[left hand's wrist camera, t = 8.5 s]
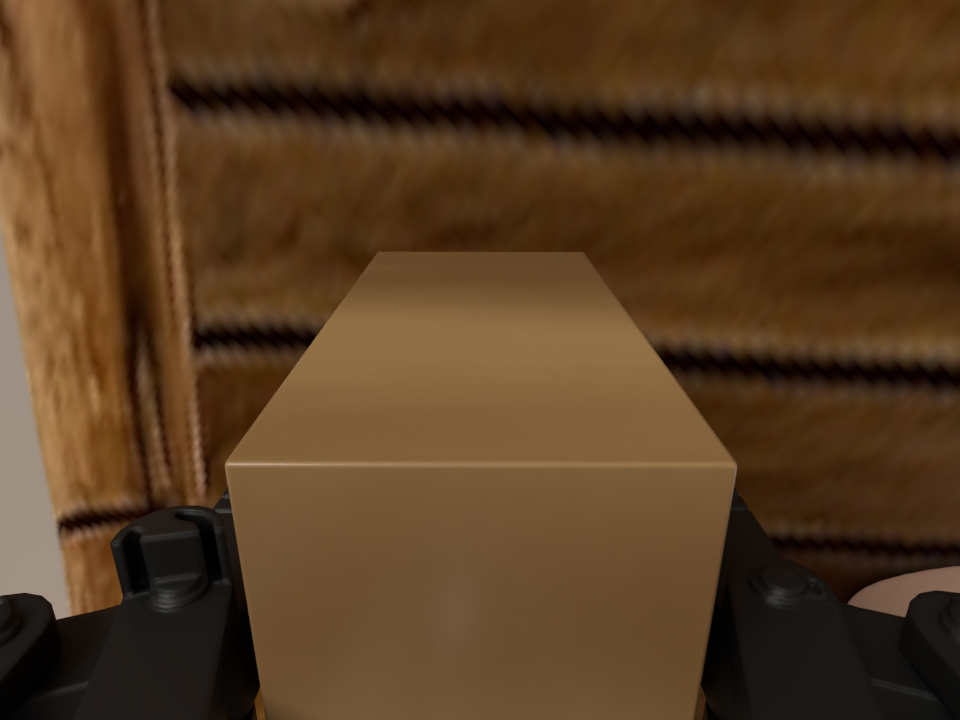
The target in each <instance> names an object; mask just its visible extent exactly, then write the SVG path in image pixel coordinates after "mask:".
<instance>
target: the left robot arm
mask: <svg viewBox="0 0 960 720" xmlns="http://www.w3.org/2000/svg"><path fill="white" fill-rule="evenodd" d="M110 545H111V549H112V553H113V557H114V561H115V565H116V569H117V573H118V577H119V581H120V585H121V589H122V593H123V599H122V602H121V604H120V605H117V606H114V607H110V608H107V609H103V610H99V611H94V612H90V613H85V614H81V615H76V616H71V617H67V618H62V619H58V620H56V618H55V614H54V611H53V608H52V605H51V603H50V602H48V601H47V600H46V599H45V598H44V597H43V596H40V595H34V594H28V593H20V594H12V595H3V596H0V720H257V715H256V709H255V703H254V701H255V698H256V696H257V693H258V690H259V688H260V680H259V674H258V668H257V662H256V656H255V650H254V643H253V637H252V631H251V625H250V619H249V613H248V607H247V600H246V594H245V588H244V582H243V576H242V570H241V563H240V557H239V551H238V545H237V539H236V533H235V526H234V520H233V514H232V508H231V502H230V496H229V490H228V488H227V489H226V491H225V492H224V494H223V498H222V499H220V500H219V501H218V503H217V504H216V506H215V507H214V509H209V508H206V507H202V506H176V507H172V508H167V509H162V510H158V511H155V512H153V513H150V514H148V515H145V516H143V517H141V518H138V519H136V520H135V521H133V522H132V523H130V524H129V525H127V526H126V527H124V528H123V529H121V530H120V531H119V533H118V534H117V535H116V536H115V537H114V539H113V540H112V541H111V542H110ZM701 686H702V688H703V691H704V694H705V696H706V703H705V709H704V715H703V720H960V593H956V592H947V591H939V590H935V591H929V592H923V593H919V594H918V595H917V596H916V597H914V598H913V599H912V600H911V601H910V603H909V606H908V610H907V613H906V616H905V617H901V616H897V615H892V614H888V613H883V612H879V611H874V610H869V609H865V608H860V607H856V606H853V605H849V604H846V603H842V602H839V601H838V598H837V596H836V595H835V593H834V592H833V590H832V589H831V587H830V586H829V584H828V583H827V582H826V581H825V580H823V579H822V578H821V577H819V576H818V575H817V574H816V573H814V572H813V571H812V570H810V569H808V568H806V567H803V566H801V565H799V564H797V563H795V562H793V561H790V560H786V559H783V558H782V557H781V556H780V554H779V553H778V551H777V550H776V548H775V547H774V545H773V544H772V542H771V541H770V539H769V538H768V536H767V535H766V533H765V532H764V530H763V529H762V527H761V526H760V524H759V523H758V521H757V520H756V519H755V517H754V516H753V514H752V513H751V511H748V507H747V505H746V504H745V502H744V501H743V499H742V498H741V496H738V492H737V490H736V489H735V487H734V491H733V497H732V503H731V509H730V515H729V520H728V526H727V532H726V538H725V544H724V550H723V556H722V562H721V568H720V574H719V580H718V586H717V592H716V598H715V604H714V610H713V615H712V621H711V627H710V633H709V639H708V645H707V651H706V657H705V663H704V669H703V675H702V681H701Z"/></svg>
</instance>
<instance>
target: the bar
mask: <svg viewBox="0 0 960 720" xmlns="http://www.w3.org/2000/svg"><path fill="white" fill-rule="evenodd" d="M225 471H226V477H227V483H228V490H229V496H230V502H231V508H232V514H233V520H234V526H235V533H236V539H237V545H238V551H239V557H240V563H241V570H242V576H243V582H244V588H245V594H246V600H247V607H248V613H249V619H250V625H251V631H252V637H253V643H254V650H255V656H256V662H257V668H258V674H259V680H260V687H261V693H262V699H263V705H264V711H265V717H266V720H695V716H696V711H697V705H698V699H699V693H700V687H701V681H702V675H703V669H704V663H705V657H706V651H707V645H708V639H709V633H710V627H711V621H712V615H713V610H714V604H715V598H716V592H717V586H718V580H719V574H720V568H721V562H722V556H723V550H724V544H725V538H726V532H727V526H728V520H729V515H730V509H731V503H732V497H733V491H734V485H735V479H736V473H737V463H736V461H735V460H734V459H733V457H732V456H731V454H730V453H729V452H728V450H727V449H726V448H725V446H724V445H723V443H722V442H721V441H720V439H719V438H718V437H717V435H716V434H715V432H714V431H713V430H712V428H711V427H710V426H709V424H708V423H707V422H706V420H705V419H704V417H703V416H702V415H701V413H700V412H699V411H698V409H697V408H696V406H695V405H694V404H693V402H692V401H691V400H690V398H689V397H688V395H687V394H686V393H685V391H684V390H683V389H682V387H681V386H680V384H679V383H678V382H677V380H676V379H675V378H674V376H673V375H672V373H671V372H670V371H669V369H668V368H667V367H666V365H665V364H664V362H663V361H662V360H661V358H660V357H659V356H658V354H657V353H656V351H655V350H654V349H653V347H652V346H651V345H650V343H649V342H648V341H647V339H646V338H645V336H644V335H643V334H642V332H641V331H640V330H639V328H638V327H637V325H636V324H635V323H634V321H633V320H632V319H631V317H630V316H629V314H628V313H627V312H626V310H625V309H624V308H623V306H622V305H621V303H620V302H619V301H618V299H617V298H616V297H615V295H614V294H613V292H612V291H611V290H610V288H609V287H608V286H607V284H606V283H605V281H604V280H603V279H602V277H601V276H600V275H599V273H598V272H597V270H596V269H595V268H594V266H593V265H592V264H591V262H590V261H589V259H588V258H587V257H586V255H585V254H584V253H583V252H378V253H377V254H376V255H375V257H374V258H373V259H372V261H371V262H370V264H369V265H368V266H367V268H366V269H365V271H364V272H363V273H362V275H361V276H360V277H359V279H358V280H357V282H356V283H355V284H354V286H353V287H352V288H351V290H350V291H349V293H348V294H347V295H346V297H345V298H344V299H343V301H342V302H341V304H340V305H339V306H338V308H337V309H336V310H335V312H334V313H333V315H332V316H331V317H330V319H329V320H328V321H327V323H326V324H325V326H324V327H323V328H322V330H321V331H320V332H319V334H318V335H317V337H316V338H315V339H314V341H313V342H312V344H311V345H310V346H309V348H308V349H307V350H306V352H305V353H304V355H303V356H302V357H301V359H300V360H299V361H298V363H297V364H296V366H295V367H294V368H293V370H292V371H291V372H290V374H289V375H288V377H287V378H286V379H285V381H284V382H283V383H282V385H281V386H280V388H279V389H278V390H277V392H276V393H275V394H274V396H273V397H272V399H271V400H270V401H269V403H268V404H267V405H266V407H265V408H264V410H263V411H262V412H261V414H260V415H259V417H258V418H257V419H256V421H255V422H254V423H253V425H252V426H251V428H250V429H249V430H248V432H247V433H246V434H245V436H244V437H243V439H242V440H241V441H240V443H239V444H238V445H237V447H236V448H235V450H234V451H233V452H232V454H231V455H230V456H229V458H228V459H227V461H226V463H225Z"/></svg>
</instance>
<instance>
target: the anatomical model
mask: <svg viewBox="0 0 960 720" xmlns="http://www.w3.org/2000/svg"><path fill="white" fill-rule="evenodd" d="M935 590H939V591H947V592H956V593H960V566H952V567H945V568H938V569H931V570H925V571H920V572H914V573H909V574H904V575H900V576H897V577H893V578H889V579H885V580H882V581H879V582H877V583H874V584H872V585H870V586H867V587H865V588H864V589H862V590H861V591H859V592H858V593H856V594H855V595H854V596H853V597H852V598H851V599H850V601H849V602H848V603H847V604H849V605H853V606H856V607H860V608H865V609H869V610H874V611H879V612H883V613H888V614H892V615H897V616H901V617H905V616H906V613H907V610H908V606H909V603H910V601H911V600H912V599H913V598H914V597H916V596H917V595H918V594H919V593H923V592H929V591H935Z"/></svg>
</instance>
